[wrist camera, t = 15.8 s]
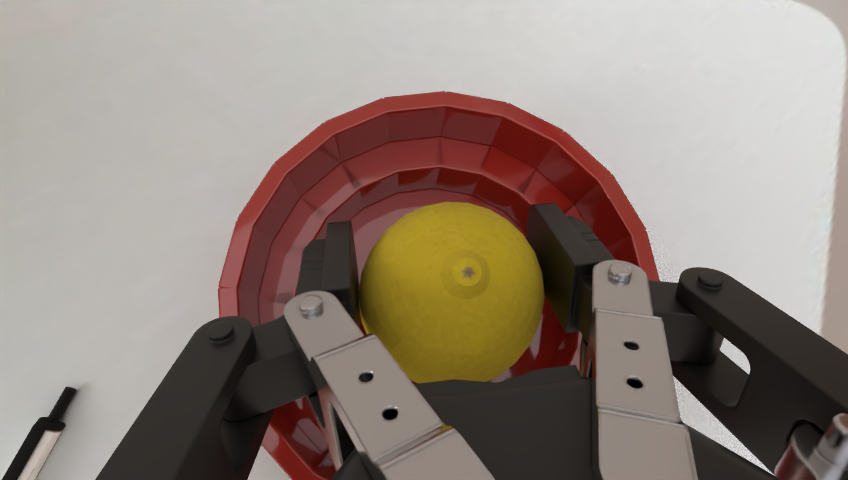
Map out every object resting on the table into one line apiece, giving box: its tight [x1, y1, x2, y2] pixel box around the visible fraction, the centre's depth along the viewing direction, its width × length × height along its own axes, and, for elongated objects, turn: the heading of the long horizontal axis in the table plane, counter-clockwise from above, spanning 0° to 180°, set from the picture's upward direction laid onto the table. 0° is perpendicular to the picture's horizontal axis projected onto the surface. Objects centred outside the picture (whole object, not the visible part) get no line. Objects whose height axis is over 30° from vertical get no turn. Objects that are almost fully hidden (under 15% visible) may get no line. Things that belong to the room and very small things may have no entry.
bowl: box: [218, 91, 660, 480], centre depth 18 cm, size 14×14×6 cm
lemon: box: [358, 202, 545, 384], centre depth 15 cm, size 6×6×8 cm
